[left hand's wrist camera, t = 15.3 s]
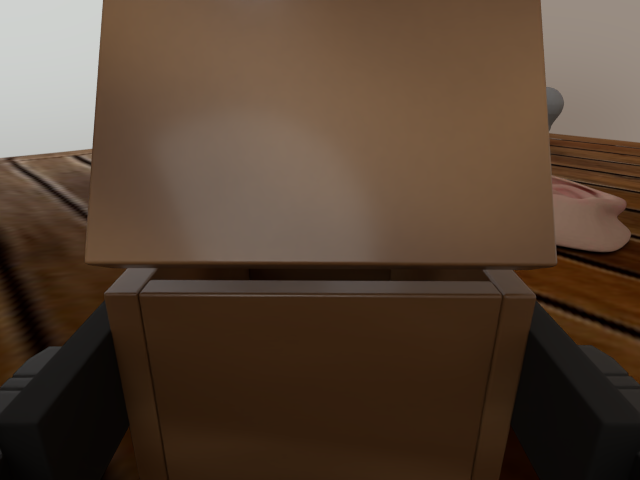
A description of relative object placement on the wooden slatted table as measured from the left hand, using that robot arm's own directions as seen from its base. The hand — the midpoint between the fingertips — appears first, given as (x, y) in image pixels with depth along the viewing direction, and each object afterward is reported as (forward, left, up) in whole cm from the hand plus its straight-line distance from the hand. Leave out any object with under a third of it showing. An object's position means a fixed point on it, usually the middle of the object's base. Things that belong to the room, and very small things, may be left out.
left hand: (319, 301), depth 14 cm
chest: (-3, +2, -7) cm, 8 cm away
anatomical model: (-5, +33, -7) cm, 34 cm away
